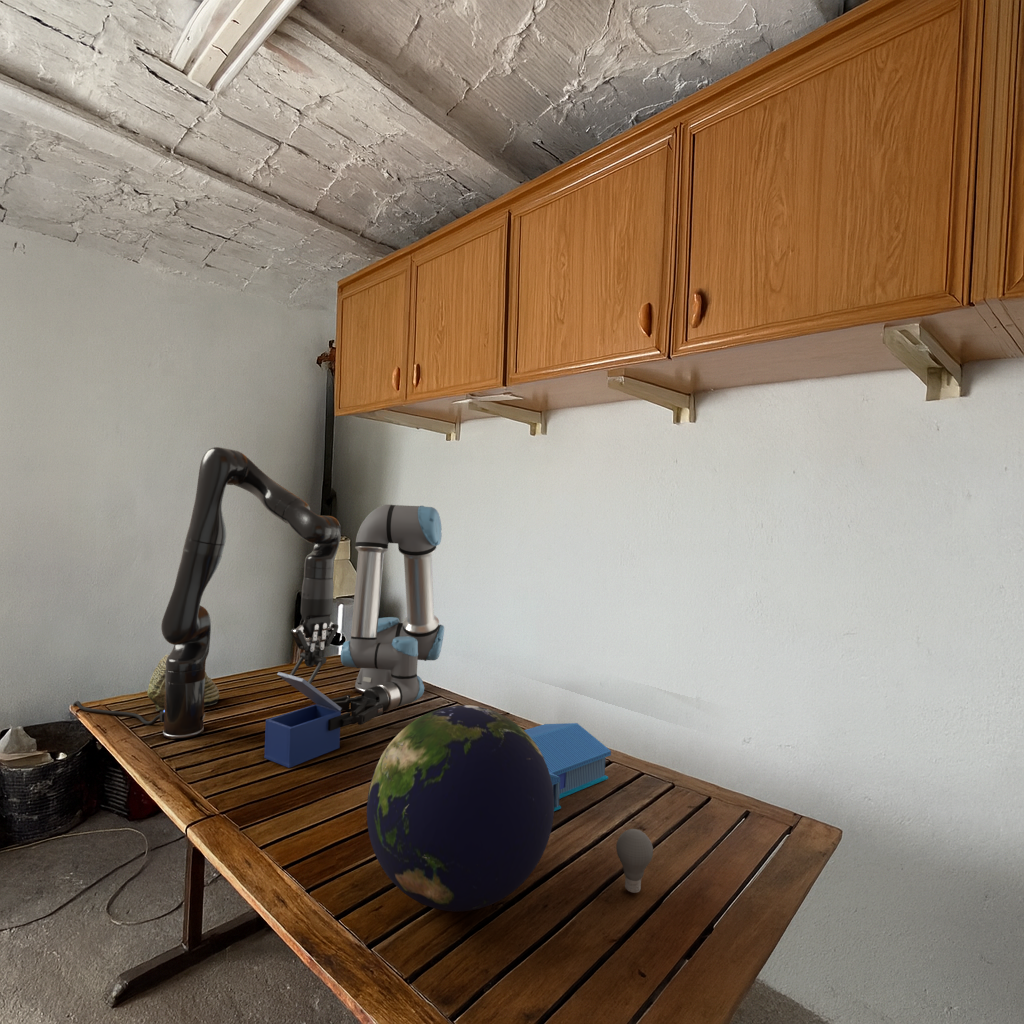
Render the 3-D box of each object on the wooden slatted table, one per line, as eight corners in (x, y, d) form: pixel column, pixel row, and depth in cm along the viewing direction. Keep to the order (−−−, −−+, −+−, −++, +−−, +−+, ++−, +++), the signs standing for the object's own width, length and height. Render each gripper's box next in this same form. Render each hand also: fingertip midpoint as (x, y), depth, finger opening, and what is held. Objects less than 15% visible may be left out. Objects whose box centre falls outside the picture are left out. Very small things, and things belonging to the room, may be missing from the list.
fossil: (144, 707, 182) (145, 655, 182) (212, 696, 194) (213, 647, 194) (151, 716, 175) (153, 662, 175) (221, 703, 188) (223, 653, 188)
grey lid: (301, 681, 149) (319, 652, 153) (276, 674, 154) (295, 645, 158) (340, 711, 159) (356, 682, 163) (315, 703, 164) (331, 675, 168)
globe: (322, 922, 94) (330, 722, 94) (423, 829, 122) (430, 674, 122) (507, 988, 83) (517, 762, 83) (572, 869, 111) (580, 699, 110)
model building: (490, 838, 120) (492, 786, 120) (417, 791, 138) (419, 745, 138) (619, 783, 146) (621, 740, 146) (544, 749, 164) (545, 711, 164)
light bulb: (610, 879, 108) (613, 822, 108) (644, 879, 109) (647, 822, 109) (619, 902, 102) (622, 840, 102) (655, 901, 103) (658, 840, 103)
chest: (289, 768, 147) (290, 728, 147) (264, 758, 152) (265, 719, 152) (339, 748, 160) (341, 711, 160) (315, 739, 165) (316, 703, 164)
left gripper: (304, 600, 149) (300, 673, 149) (348, 595, 161) (344, 663, 161) (284, 596, 153) (279, 667, 153) (328, 591, 165) (324, 658, 165)
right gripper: (408, 721, 172) (345, 746, 153) (351, 704, 184) (286, 725, 165) (409, 693, 172) (346, 715, 153) (352, 678, 183) (288, 696, 165)
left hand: (313, 665), depth 157 cm, fingers closed
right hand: (315, 720), depth 159 cm, fingers closed on chest, 9 cm apart
